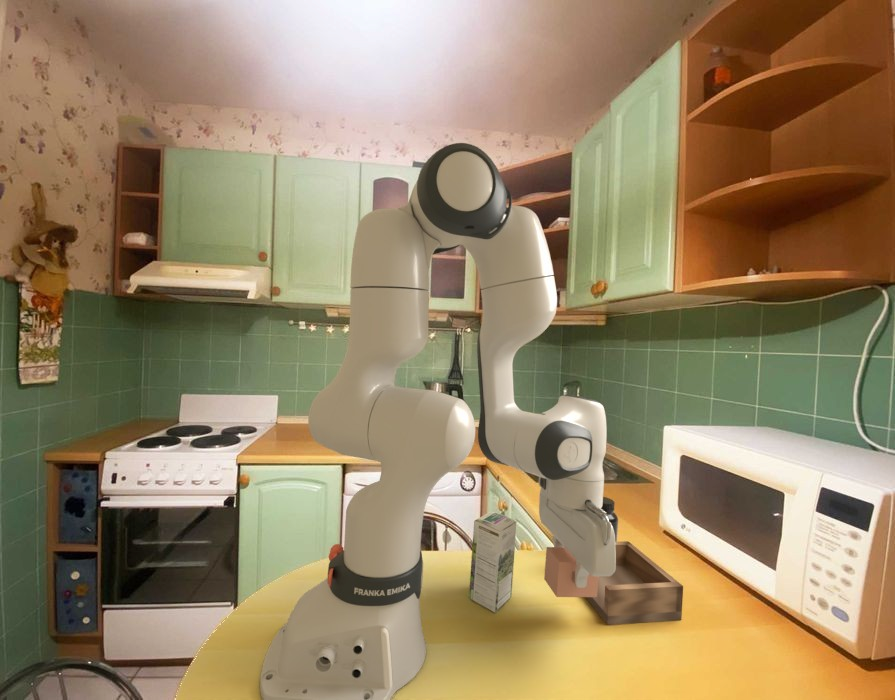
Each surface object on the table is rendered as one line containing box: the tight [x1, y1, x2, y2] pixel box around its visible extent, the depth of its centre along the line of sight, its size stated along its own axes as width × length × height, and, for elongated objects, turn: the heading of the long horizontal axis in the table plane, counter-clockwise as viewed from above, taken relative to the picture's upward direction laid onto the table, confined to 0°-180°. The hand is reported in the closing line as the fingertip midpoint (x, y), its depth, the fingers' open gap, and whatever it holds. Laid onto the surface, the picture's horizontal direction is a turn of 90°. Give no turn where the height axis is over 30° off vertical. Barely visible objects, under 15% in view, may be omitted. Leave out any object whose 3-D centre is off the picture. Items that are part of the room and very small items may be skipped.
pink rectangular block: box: [544, 546, 598, 598], centre depth 63 cm, size 7×5×6 cm
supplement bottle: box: [601, 496, 619, 542], centre depth 86 cm, size 7×7×12 cm
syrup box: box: [468, 511, 517, 613], centre depth 68 cm, size 6×6×14 cm
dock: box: [585, 540, 684, 626], centre depth 71 cm, size 14×15×6 cm
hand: (569, 574), depth 63 cm, fingers closed on pink rectangular block, 5 cm apart
